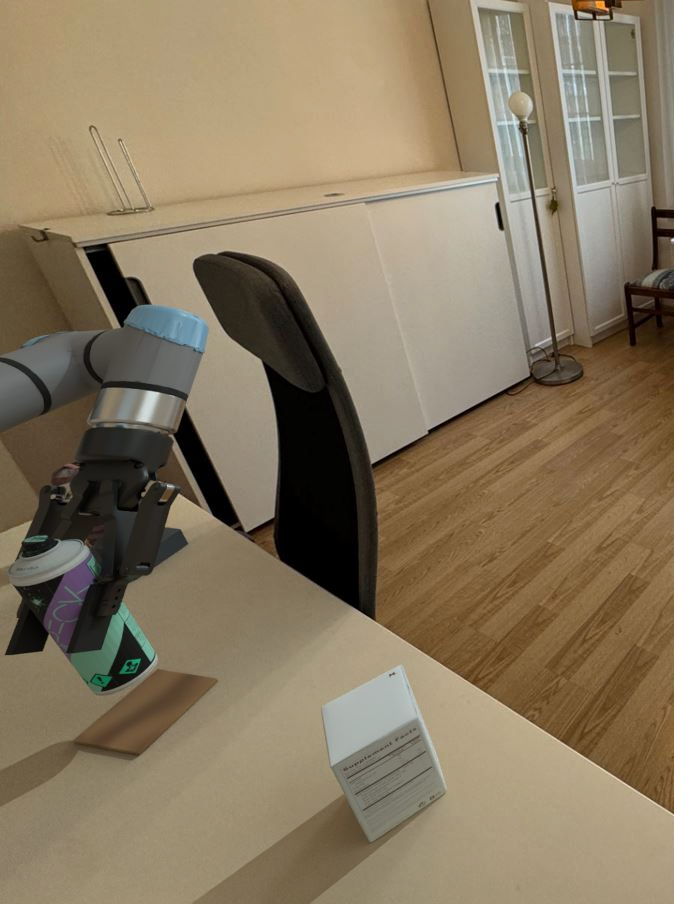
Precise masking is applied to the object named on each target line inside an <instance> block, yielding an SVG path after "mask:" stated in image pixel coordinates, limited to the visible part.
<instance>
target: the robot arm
mask: <svg viewBox="0 0 674 904" xmlns="http://www.w3.org/2000/svg"><path fill="white" fill-rule="evenodd" d="M209 331H210V328H209V325H208V322H207V321H206V320H204V319H203V318H202V317H200V316H198V315H196V314H194V313H192V312H189V311H187V310H184V309H180V308H176V307H172V306H167V305H160V304H141V305H137V306H136V307H134V308H132V309H131V311H130V313H129V314H128V315H127V317H126V318H125V319H124V321H123V326H122V327H115V328H112V329H111V328H110V329H97V330H84V331H77V330H74V331H70V330H69V331H67V330H65V331H58V332H55V333H52V334H45V335H40V336H37V337H33V338H32V339H29V340H27V341H26V342H24V343H23V344H22V345H21V346H20V348H19V349H16V350H13V351H10V352H6V353H4V354H1V355H0V434H1V433H3V432H6V431H8V430H10V429H13V428H16V427H17V426H20V425H22V424H24V423H27V422H28V421H31V420H34V419H35V418H38V417H40V416H45V415H47V414H48V413H51V412H54V411H56V410H58V409H61V408H63V407H65V406H68V405H71V404H72V403H75V402H77V401H80V400H82V399H85V398H87V397H90V396H91V395H93V394H94V395H95V394H96V393H97V395H96V398H95V400H94V402H93V404H92V408H91V410H90V412H89V414H88V417H87V420H86V423H87V424H88V425H89V426H91V427H89V428H87V429H86V430H84V431H83V432H82V435H81V436H80V440H79V443H78V444H77V447H76V450H75V452H74V455H73V459H74V462H78V463H79V465H80V468H79V470H78V472H77V473H76V474H75V476H74V477H73V478H72V479H71V481H70V482H69V483H66V484H63V485H60V486H53V485H52V484H45V485H43V486H42V487H41V488H40V490H39V497H38V506H37V509H36V511H35V513H34V516H33V518H32V520H31V523H30V526H29V527H28V530H27V532H26V534H25V537H24V540H25V539H26V538H28V537H31V536H33V535H37V534H46V535H47V536H48V537H49V538H50V539H59V540H60V541H63V540H70V539H77V540H81V541H82V542H83V543H84V544H85V542H86V540H87V537H88V536H89V534H90V532H91V531H92V529H93V528H94V526H95V525H96V524H97V523H100V522H101V521H104V535H103V548H102V561H101V574H100V577H98V578H95V579H93V582H94V583H103V584H90V586H89V588H88V591H87V594H86V597H85V599H84V602H83V605H82V608H81V611H80V614H79V617H78V620H77V622H76V625H75V628H74V631H73V634H72V637H71V640H70V643H69V645H68V648H67V651H66V654H70V653H80V652H88V651H96V650H101V649H102V646H103V643H104V640H105V637H106V634H107V631H108V628H109V625H110V622H111V619H112V616H113V615H116V614H117V612H118V611H119V609H120V606H121V603H122V601H123V600H124V597H125V593H126V591H127V588H128V585H129V584H130V583H131V582H132V581H134V580H133V579H135V578H138V577H139V578H141V577H147V576H149V575H151V574H152V572H153V570H154V568H155V567H154V564H155V561H156V557H157V554H158V550H159V547H160V543H161V539H162V536H163V532H164V529H165V527H166V524H167V522H168V518H169V515H170V510H171V507H172V505H173V503H174V502H175V500H176V499H177V497H178V495H179V494H180V493H181V489H182V488H181V486H180V485H179V484H172V483H166V482H162V481H159V475H158V470H161V469H163V468H165V467H166V466H167V464H168V461H169V459H170V455H171V453H172V450H173V446H174V443H175V440H174V439H173V437H171V436H172V435H174V434H176V433H177V432H178V431H179V426H180V423H181V420H182V417H183V415H184V411H185V409H186V405H187V402H188V398H189V396H190V394H191V391H192V387H193V385H194V383H195V379H196V376H197V372H198V371H199V367H200V365H201V361H202V359H203V356H204V354H206V344H207V339H208V337H209V336H208V335H209ZM79 511H80V513H79ZM23 550H24V548H23V546H22V545H21V546H20V548H19V551H18V553H17V555H16V557H15V560H14V562H15V561H17V560H18V559H19V556H20V554H21V553H22V552H23ZM138 563H140V564H138ZM118 567H119V569H117V568H118ZM139 578H138V579H139ZM16 619H17V622H16V624H15V627H14V629H13V632H12V634H11V636H10V639H9V642H8V645H7V647H6V650H5V653H4V656H15V655H16V656H18V655H23V654H32V653H41V652H44V649H45V647H46V644H47V641H48V639H49V636H50V634H49V633H48V632H47V630H46V629H45V628H44V626H43V625H42V624H41V622H40V621H39V619H38V618H37V617H36V615H35V614H34V613H33V611H32V610H31V609H30V607H29V606H28V605H27V603H26V602H25V601H24V599H23V598H22V597H21V601H20V603H19V606H18V608H17V611H16Z"/></svg>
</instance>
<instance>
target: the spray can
mask: <svg viewBox="0 0 674 904" xmlns="http://www.w3.org/2000/svg"><path fill="white" fill-rule="evenodd" d="M24 539H25V538H24ZM21 546H23V548H24V550H23V552H22V553H21V554H20V556H19V559H18V560H17V561H15V560H14V562H12V564H11V565H10V566H9V567H8V568H7V570H6V575H7V577H9V578H8V579H9V582H10V583H11V585H12V586H13V587H14V589H15V590H16V592H17V593H18V594H19V595H20V596H21V599H22V598H23V599H24V601H25V602H26V603H27V605H28V606H29V607H30V609H31V610H32V611H33V613H34V614H35V615H36V617H37V618H38V619H39V621H40V622H41V624H42V625H43V626H44V628H45V629H46V630H47V632H48V633H49V636H50V637H51V638H52V640H53V642H55V644H56V646H58V648H59V649H60V651H61V652H62V653H63V654H64V656H65V657H66V659H67V660H68V662H69V663H70V664H71V666H72V667H73V668H74V670H76V672H77V673H78V675H79V676H80V678H81V679H82V680H83V682H84V683H85V684H86V686H87V687H88V688H89V690H90V691H91V692H92V693H93V694H94V695H95V696H99V697H106V696H111V695H114V694H118V693H120V692H123V691H125V690H127V689H129V688H131V687H133V686H135V685H136V684H138V683H139V682H141V681H142V680H143V679H144V678H146V677H147V676H149V675H150V673H151V672H152V671H153V669H155V668H156V665H157V664H158V661H159V657H158V655H157V653H156V651H155V650H154V648H153V647H152V645H151V643H150V642H149V640H148V639H147V637H146V636H145V634H144V632H143V631H142V629H141V628H140V626H139V625H138V623H137V622H136V619H135V618H134V616H133V615H132V613H131V612H130V610H129V609H128V608H127V606H126V604H125V603H124V601H123V600H122V603H121V606H120V609H119V611H118V612H117V614H116V615H113V616H112V619H111V622H110V625H109V628H108V631H107V634H106V637H105V640H104V643H103V646H102V649H101V650H96V651H88V652H80V653H70V654H66V651H67V648H68V645H69V643H70V640H71V637H72V634H73V631H74V628H75V625H76V622H77V620H78V617H79V614H80V611H81V608H82V605H83V602H84V599H85V597H86V594H87V591H88V588H89V586H90V584H103V583H94V582H93V579H95V578H98V577H100V574H101V567H100V565H99V564H98V562H97V561H96V559H95V558H94V556H93V555H92V553H91V551H90V550H89V548H90V547H88V546H87V545H86V544H85V542H84V543H83V542H82V541H81V540H77V539H70V540H63V541H60V540H59V539H50V538H49V537H48V536H47V535H46V534H37V535H33V536H31V537H28V538H26V539H25V540H22V541H21Z"/></svg>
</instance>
